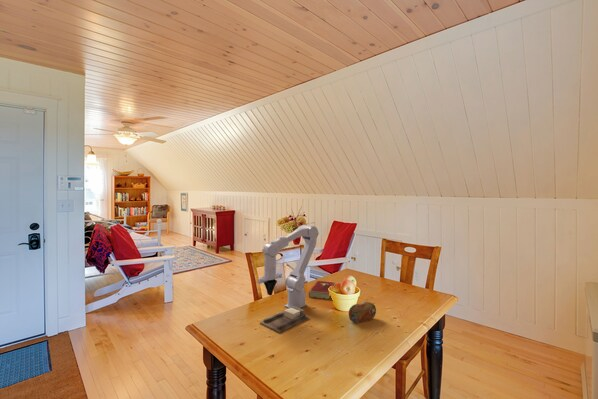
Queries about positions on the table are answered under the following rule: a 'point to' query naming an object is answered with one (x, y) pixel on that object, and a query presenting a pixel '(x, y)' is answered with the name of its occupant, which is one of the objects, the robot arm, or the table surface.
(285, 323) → the brown and grey tray
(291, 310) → the block
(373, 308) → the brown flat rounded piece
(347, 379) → the table surface
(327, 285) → the hardcover book
